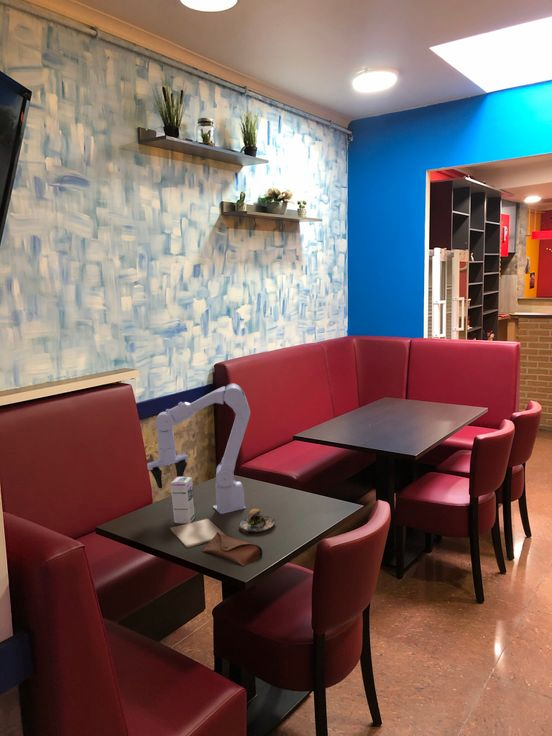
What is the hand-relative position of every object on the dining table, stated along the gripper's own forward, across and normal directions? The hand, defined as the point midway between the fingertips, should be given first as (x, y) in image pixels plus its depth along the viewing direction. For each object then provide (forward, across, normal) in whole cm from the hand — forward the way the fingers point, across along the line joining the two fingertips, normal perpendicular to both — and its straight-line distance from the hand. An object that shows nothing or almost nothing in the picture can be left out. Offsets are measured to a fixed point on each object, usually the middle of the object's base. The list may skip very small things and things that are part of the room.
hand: (169, 484), depth 203 cm
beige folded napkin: (+10, +2, +21) cm, 24 cm away
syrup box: (+10, 0, +9) cm, 14 cm away
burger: (+11, -15, +30) cm, 36 cm away
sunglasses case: (+11, +1, +40) cm, 42 cm away
